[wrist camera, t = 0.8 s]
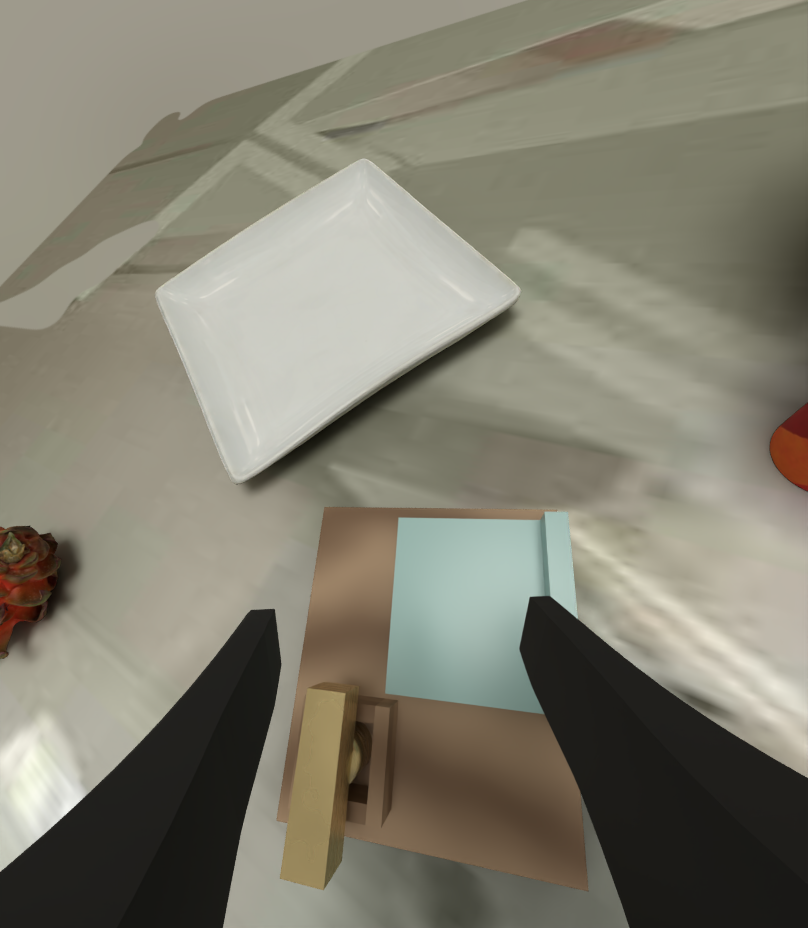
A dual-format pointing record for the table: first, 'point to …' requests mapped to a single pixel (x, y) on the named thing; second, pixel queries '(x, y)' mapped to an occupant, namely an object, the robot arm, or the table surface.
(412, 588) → the cover
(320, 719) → the tan block with knob
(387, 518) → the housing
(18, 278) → the table surface
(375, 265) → the square plate
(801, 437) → the paper cup
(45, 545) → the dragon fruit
